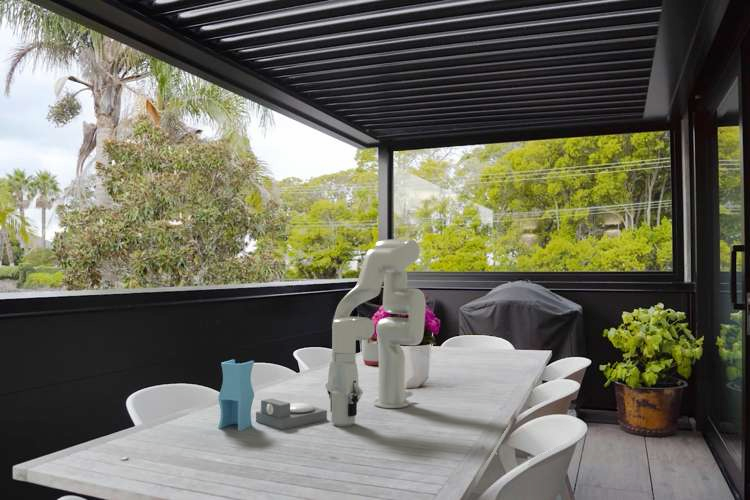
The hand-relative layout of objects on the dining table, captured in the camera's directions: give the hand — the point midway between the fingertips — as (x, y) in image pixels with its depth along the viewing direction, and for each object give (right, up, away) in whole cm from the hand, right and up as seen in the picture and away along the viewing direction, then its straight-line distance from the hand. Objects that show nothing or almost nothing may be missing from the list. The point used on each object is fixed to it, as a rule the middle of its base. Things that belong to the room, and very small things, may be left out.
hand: (343, 413), depth 193 cm
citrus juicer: (+10, -7, +120) cm, 121 cm away
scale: (-17, -3, +4) cm, 18 cm away
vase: (-33, -3, -4) cm, 34 cm away
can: (0, -4, 0) cm, 4 cm away
